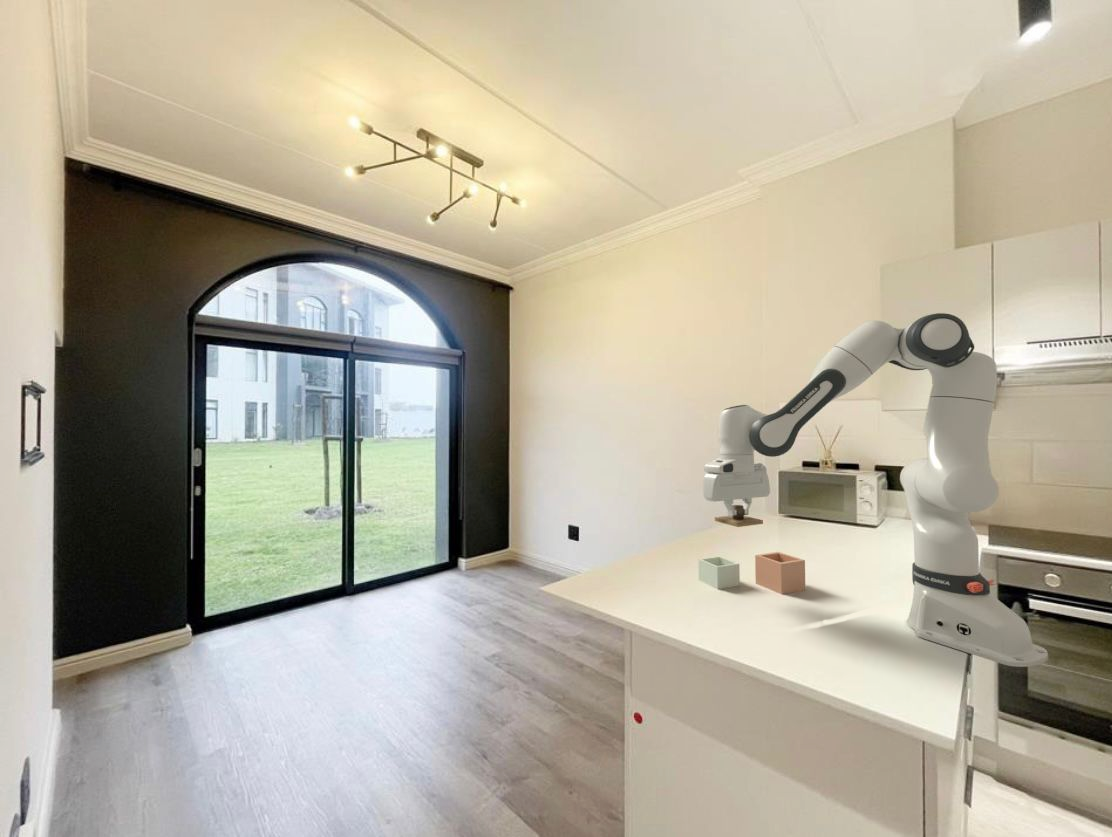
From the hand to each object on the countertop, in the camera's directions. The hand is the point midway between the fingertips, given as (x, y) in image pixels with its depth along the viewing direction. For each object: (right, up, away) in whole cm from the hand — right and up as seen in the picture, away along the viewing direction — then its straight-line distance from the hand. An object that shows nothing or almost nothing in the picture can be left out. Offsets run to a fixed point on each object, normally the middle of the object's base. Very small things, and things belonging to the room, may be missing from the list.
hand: (738, 515), depth 120 cm
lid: (0, -2, 0) cm, 2 cm away
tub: (-2, -23, +9) cm, 24 cm away
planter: (+14, -23, +6) cm, 27 cm away
